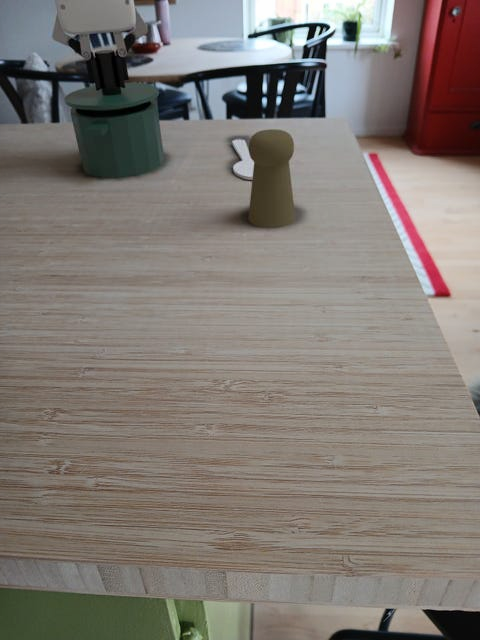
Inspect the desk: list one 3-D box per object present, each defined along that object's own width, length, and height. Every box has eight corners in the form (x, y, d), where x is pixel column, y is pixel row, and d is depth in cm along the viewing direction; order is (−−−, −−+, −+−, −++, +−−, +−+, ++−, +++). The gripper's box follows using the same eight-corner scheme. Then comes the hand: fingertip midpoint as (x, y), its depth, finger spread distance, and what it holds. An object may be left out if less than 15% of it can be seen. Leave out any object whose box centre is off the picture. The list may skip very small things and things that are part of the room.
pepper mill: (260, 236, 61) (258, 143, 55) (240, 217, 66) (236, 129, 59) (304, 225, 63) (308, 134, 56) (282, 207, 68) (282, 121, 61)
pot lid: (50, 115, 71) (37, 62, 67) (86, 91, 82) (77, 44, 78) (144, 114, 70) (136, 59, 66) (169, 90, 80) (163, 42, 76)
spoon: (253, 140, 90) (253, 137, 90) (273, 177, 76) (273, 174, 75) (222, 143, 89) (222, 140, 89) (237, 181, 75) (236, 177, 75)
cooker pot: (65, 190, 76) (48, 124, 70) (106, 149, 90) (95, 92, 84) (147, 191, 74) (136, 123, 68) (176, 149, 88) (169, 90, 83)
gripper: (145, -74, 68) (163, 77, 79) (17, -67, 66) (55, 87, 77) (149, -76, 62) (169, 87, 73) (9, -69, 60) (51, 99, 71)
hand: (110, 86), depth 75 cm, fingers closed on pot lid, 2 cm apart
